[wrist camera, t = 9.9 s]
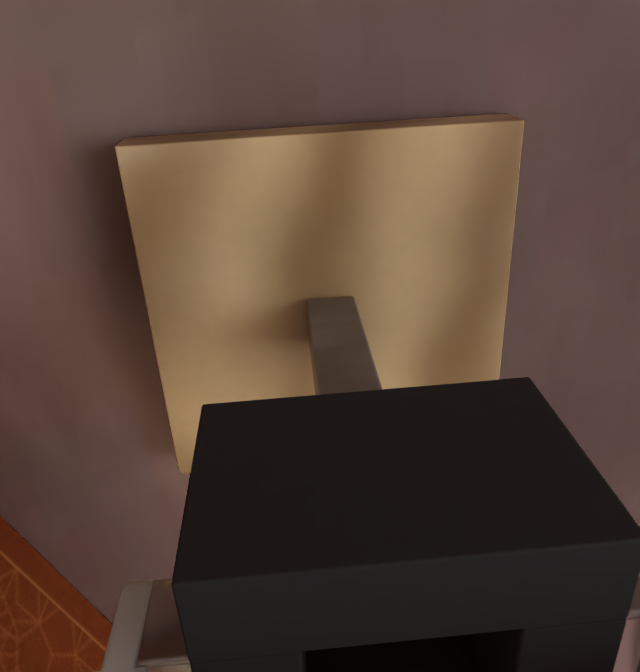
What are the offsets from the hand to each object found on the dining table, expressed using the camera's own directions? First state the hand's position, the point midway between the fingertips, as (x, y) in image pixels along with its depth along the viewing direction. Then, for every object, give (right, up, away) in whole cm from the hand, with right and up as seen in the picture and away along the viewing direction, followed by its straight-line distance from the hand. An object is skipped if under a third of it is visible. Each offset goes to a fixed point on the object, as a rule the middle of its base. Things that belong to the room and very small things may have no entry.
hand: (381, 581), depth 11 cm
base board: (-1, +6, +11) cm, 12 cm away
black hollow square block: (0, +1, +2) cm, 2 cm away
